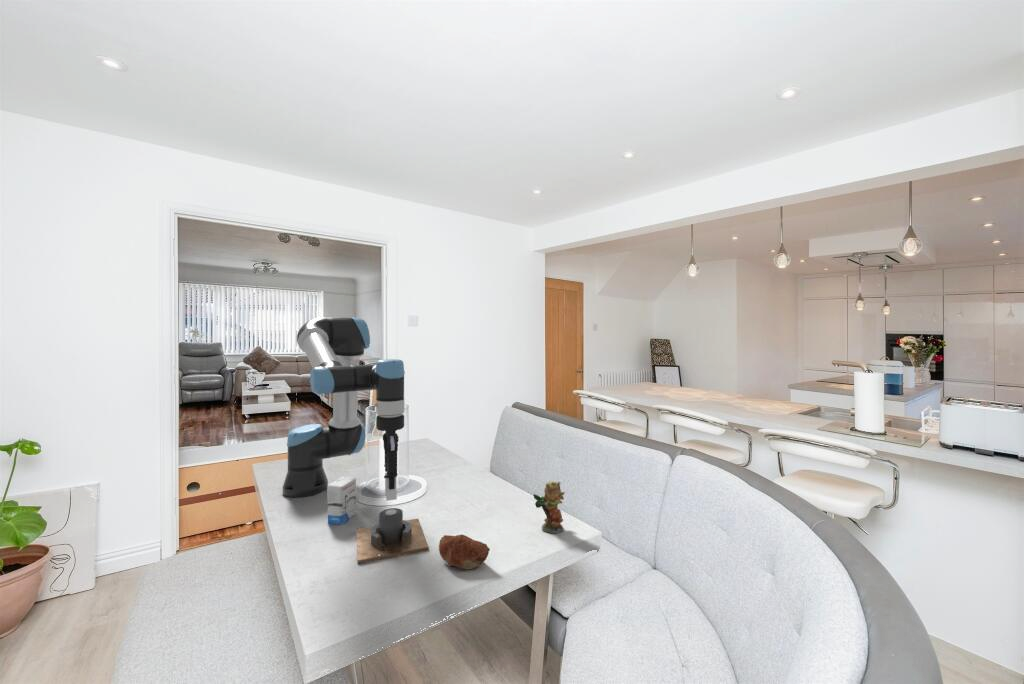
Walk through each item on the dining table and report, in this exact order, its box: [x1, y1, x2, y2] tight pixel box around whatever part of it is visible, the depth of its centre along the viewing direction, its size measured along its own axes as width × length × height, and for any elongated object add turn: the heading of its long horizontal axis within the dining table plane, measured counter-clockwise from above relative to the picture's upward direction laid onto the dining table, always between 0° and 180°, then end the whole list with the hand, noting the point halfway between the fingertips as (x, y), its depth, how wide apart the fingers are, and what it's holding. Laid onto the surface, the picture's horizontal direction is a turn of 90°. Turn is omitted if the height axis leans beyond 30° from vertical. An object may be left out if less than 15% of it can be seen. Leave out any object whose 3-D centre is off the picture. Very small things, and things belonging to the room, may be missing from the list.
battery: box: [378, 507, 404, 543], centre depth 117 cm, size 6×6×7 cm
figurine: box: [533, 480, 566, 534], centre depth 124 cm, size 9×8×15 cm
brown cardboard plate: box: [356, 518, 430, 565], centre depth 117 cm, size 18×18×4 cm
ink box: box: [326, 476, 357, 525], centre depth 131 cm, size 9×5×12 cm, turn 168°
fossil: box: [438, 534, 491, 570], centre depth 107 cm, size 13×8×10 cm
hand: (390, 497), depth 117 cm, fingers open, 3 cm apart
